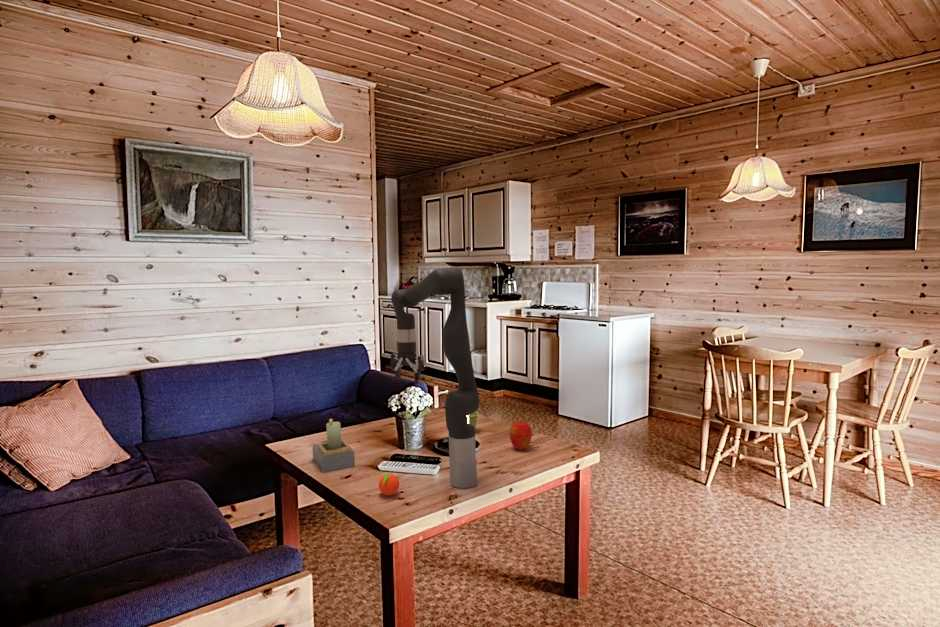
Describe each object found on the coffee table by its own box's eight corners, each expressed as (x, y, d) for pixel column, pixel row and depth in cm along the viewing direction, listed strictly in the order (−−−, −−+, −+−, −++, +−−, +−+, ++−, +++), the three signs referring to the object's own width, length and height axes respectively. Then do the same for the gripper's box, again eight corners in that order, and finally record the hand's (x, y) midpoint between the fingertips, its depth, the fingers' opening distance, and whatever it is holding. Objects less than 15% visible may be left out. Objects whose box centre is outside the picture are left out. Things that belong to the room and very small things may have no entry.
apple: (508, 445, 237) (508, 417, 235) (530, 444, 237) (530, 416, 235) (510, 453, 227) (510, 424, 226) (533, 452, 227) (532, 423, 226)
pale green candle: (333, 445, 222) (332, 415, 221) (344, 447, 220) (342, 417, 218) (324, 450, 217) (323, 419, 216) (335, 452, 215) (334, 421, 214)
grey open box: (354, 466, 216) (354, 447, 216) (323, 472, 211) (322, 453, 210) (342, 453, 230) (342, 435, 230) (313, 459, 225) (312, 440, 224)
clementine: (393, 501, 186) (392, 480, 185) (374, 499, 187) (373, 478, 187) (402, 491, 193) (402, 471, 192) (384, 489, 195) (383, 469, 194)
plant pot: (464, 428, 261) (464, 409, 260) (482, 431, 256) (482, 412, 255) (453, 433, 253) (453, 414, 252) (471, 437, 248) (471, 417, 247)
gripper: (385, 340, 223) (387, 381, 225) (416, 342, 217) (418, 384, 218) (396, 337, 230) (397, 377, 231) (427, 339, 223) (428, 380, 225)
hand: (407, 380), depth 225 cm, fingers open, 8 cm apart
